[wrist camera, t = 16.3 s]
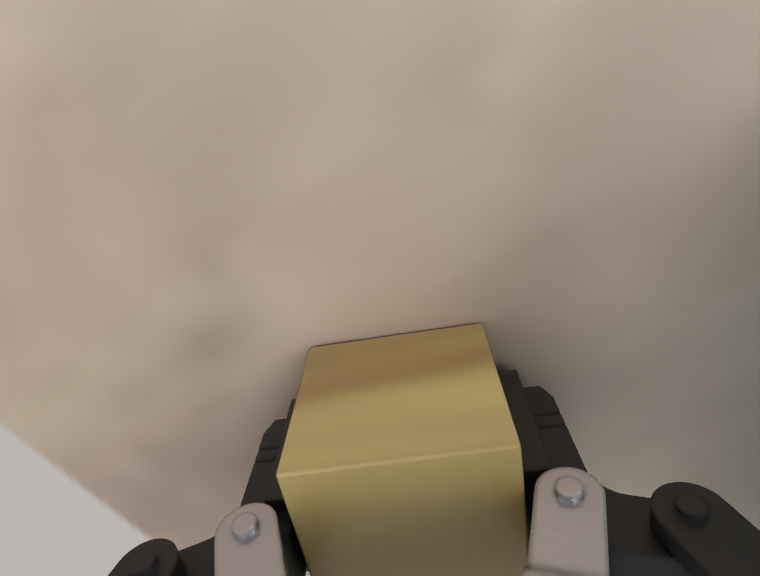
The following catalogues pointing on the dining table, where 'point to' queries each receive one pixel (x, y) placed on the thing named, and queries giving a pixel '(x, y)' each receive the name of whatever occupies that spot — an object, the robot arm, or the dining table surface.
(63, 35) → the dining table surface
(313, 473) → the block
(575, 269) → the dining table surface
